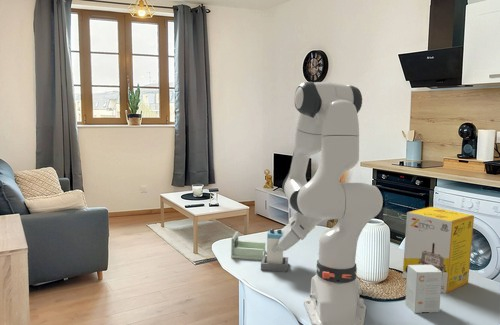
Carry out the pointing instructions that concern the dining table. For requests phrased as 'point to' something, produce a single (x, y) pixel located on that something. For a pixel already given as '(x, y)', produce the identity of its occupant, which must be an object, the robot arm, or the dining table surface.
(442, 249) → the packaging box
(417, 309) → the small box
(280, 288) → the dining table surface
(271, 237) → the plug block
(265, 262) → the frame
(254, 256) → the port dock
